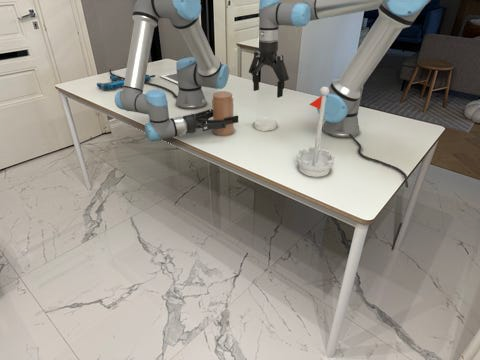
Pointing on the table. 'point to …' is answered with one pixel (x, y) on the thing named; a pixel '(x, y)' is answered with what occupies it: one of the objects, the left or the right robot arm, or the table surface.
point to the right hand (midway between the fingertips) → (267, 93)
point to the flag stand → (316, 146)
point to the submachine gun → (117, 82)
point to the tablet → (171, 77)
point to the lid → (265, 124)
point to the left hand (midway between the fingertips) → (232, 115)
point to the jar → (223, 110)
